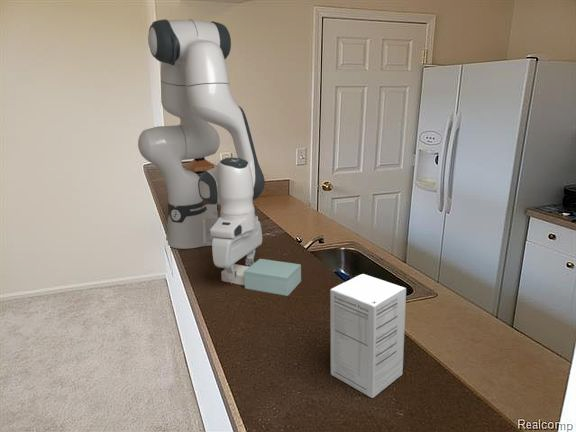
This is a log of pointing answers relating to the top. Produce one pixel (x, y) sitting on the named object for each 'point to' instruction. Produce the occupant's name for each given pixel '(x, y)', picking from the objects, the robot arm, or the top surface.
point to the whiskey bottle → (199, 166)
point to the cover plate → (239, 273)
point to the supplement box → (367, 333)
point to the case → (272, 276)
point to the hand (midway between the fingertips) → (241, 271)
